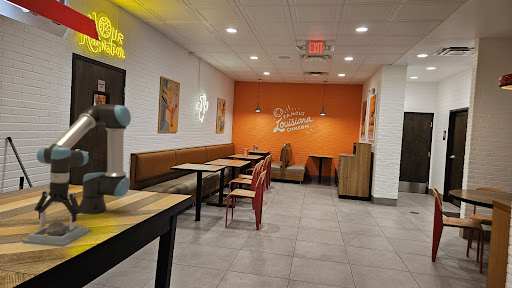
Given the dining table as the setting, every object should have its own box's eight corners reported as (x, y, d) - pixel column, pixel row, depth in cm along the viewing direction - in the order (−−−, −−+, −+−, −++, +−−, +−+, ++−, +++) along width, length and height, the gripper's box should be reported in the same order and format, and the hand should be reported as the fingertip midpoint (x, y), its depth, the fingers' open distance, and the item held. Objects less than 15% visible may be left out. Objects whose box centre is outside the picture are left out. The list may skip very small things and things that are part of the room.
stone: (44, 238, 141) (45, 225, 141) (45, 232, 150) (46, 219, 150) (66, 236, 145) (66, 224, 145) (65, 230, 154) (66, 218, 154)
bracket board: (55, 227, 160) (56, 219, 160) (91, 230, 159) (91, 222, 159) (22, 243, 138) (22, 233, 138) (63, 246, 137) (64, 237, 137)
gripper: (26, 180, 142) (24, 227, 143) (81, 185, 142) (79, 232, 142) (38, 178, 150) (36, 223, 151) (91, 182, 149) (88, 227, 150)
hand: (57, 227), depth 146 cm, fingers open, 13 cm apart
